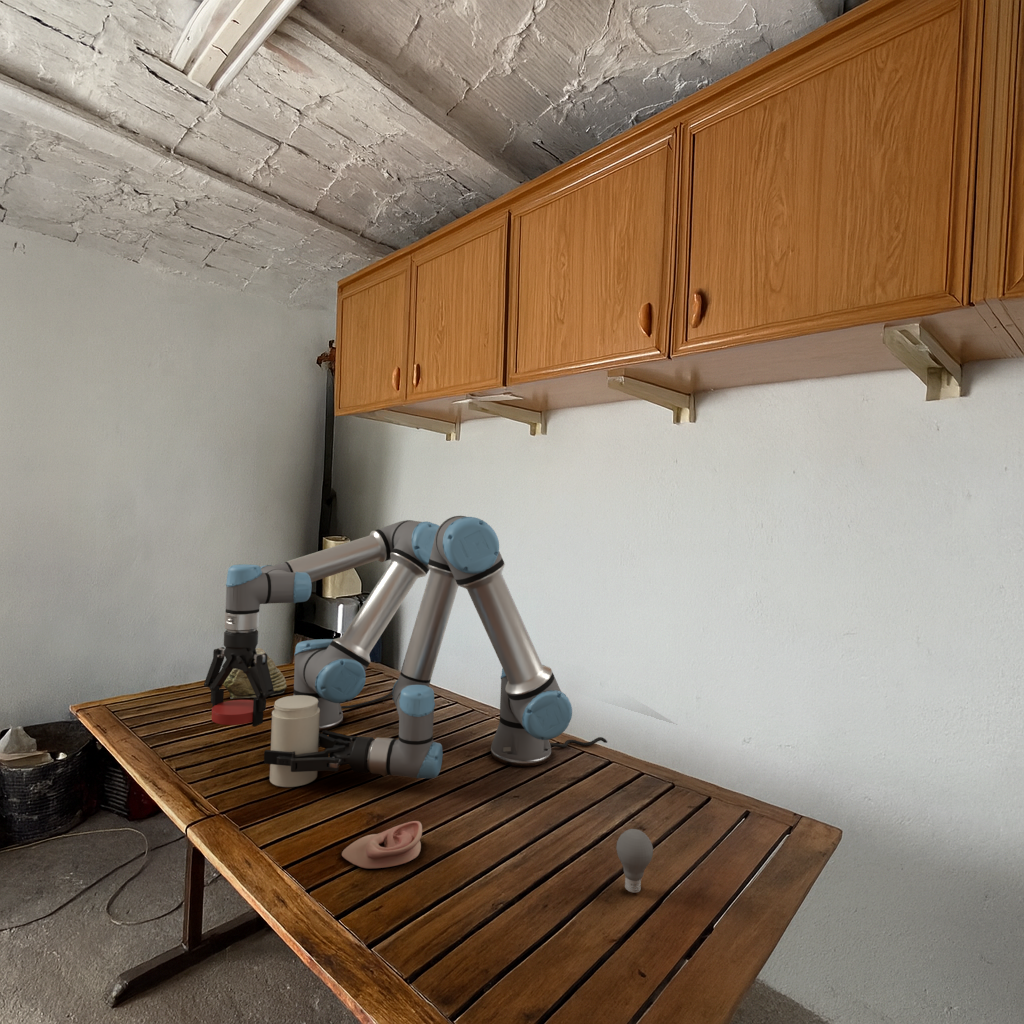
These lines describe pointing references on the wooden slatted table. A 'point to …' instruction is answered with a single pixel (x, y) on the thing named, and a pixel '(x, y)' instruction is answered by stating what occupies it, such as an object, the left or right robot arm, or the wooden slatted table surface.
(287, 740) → the jar
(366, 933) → the wooden slatted table surface
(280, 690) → the fossil
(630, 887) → the light bulb
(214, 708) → the lid
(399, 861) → the anatomical model
